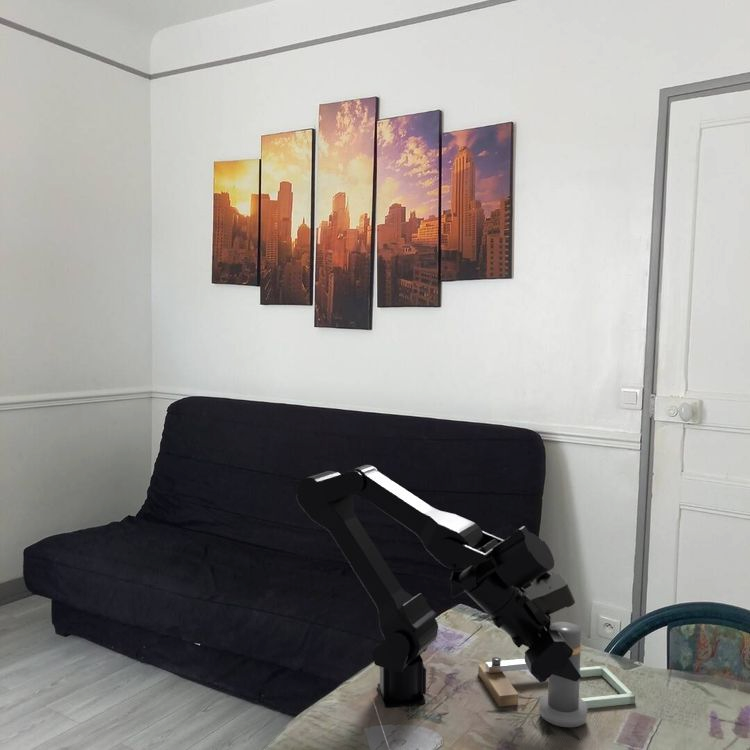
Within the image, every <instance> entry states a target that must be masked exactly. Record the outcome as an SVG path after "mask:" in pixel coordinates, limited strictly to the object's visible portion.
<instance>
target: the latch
mask: <svg viewBox="0 0 750 750" xmlns="http://www.w3.org/2000/svg"><path fill="white" fill-rule="evenodd" d="M485 664H486V669H487V671H488V672H489V673H494V672H503V673H504V672H512V671H513V672H514V671H525V670H529V669H528V667H527V665H526V663H525V658H520V659H519V658H517V659H507V660H502V659H501V658H500V657H498V656H493V657H492V658H491V661H485Z"/></svg>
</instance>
